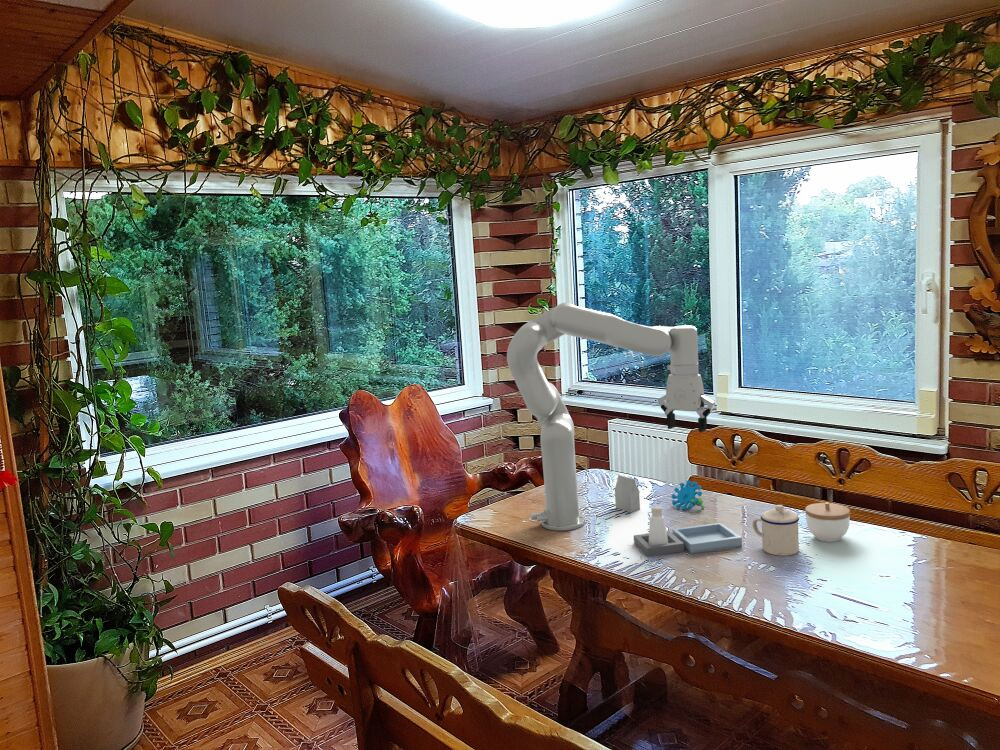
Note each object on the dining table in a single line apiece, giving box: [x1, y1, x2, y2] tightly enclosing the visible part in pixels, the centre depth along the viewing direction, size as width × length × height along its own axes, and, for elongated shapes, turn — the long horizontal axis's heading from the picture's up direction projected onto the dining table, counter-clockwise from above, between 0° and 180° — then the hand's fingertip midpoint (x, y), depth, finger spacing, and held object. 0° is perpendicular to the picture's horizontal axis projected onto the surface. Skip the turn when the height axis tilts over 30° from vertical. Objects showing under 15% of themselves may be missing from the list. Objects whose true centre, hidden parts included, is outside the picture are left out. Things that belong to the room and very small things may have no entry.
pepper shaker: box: [648, 505, 668, 546], centre depth 199 cm, size 5×5×11 cm
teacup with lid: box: [752, 504, 800, 557], centre depth 193 cm, size 12×9×12 cm
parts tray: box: [671, 522, 743, 555], centre depth 201 cm, size 14×12×2 cm
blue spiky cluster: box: [670, 480, 705, 511], centre depth 230 cm, size 11×6×10 cm
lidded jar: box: [804, 502, 851, 543], centre depth 197 cm, size 11×11×9 cm
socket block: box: [633, 530, 685, 557], centre depth 200 cm, size 10×10×2 cm
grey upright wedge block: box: [614, 474, 641, 513], centre depth 232 cm, size 4×7×10 cm, turn 35°
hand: (686, 429), depth 215 cm, fingers open, 9 cm apart
